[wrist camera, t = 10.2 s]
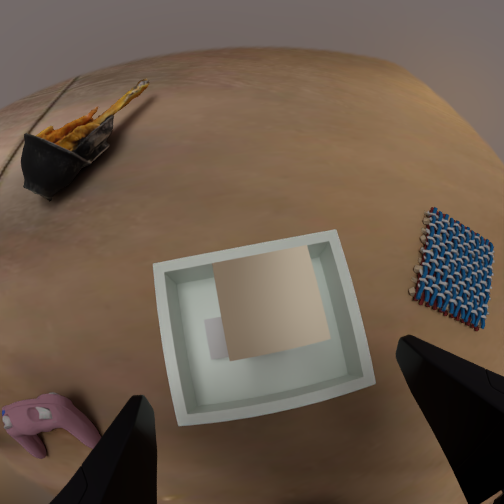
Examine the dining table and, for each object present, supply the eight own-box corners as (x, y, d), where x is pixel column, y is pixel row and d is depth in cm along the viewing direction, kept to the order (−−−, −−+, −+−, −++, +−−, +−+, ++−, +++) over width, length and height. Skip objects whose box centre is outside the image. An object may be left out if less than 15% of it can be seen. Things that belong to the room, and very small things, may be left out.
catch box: (324, 248, 25) (336, 229, 21) (356, 379, 21) (375, 383, 17) (168, 278, 24) (152, 263, 20) (191, 414, 20) (178, 426, 16)
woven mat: (487, 247, 25) (497, 240, 23) (476, 334, 22) (488, 331, 20) (421, 208, 27) (430, 199, 25) (402, 300, 23) (413, 295, 22)
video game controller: (100, 406, 21) (49, 376, 16) (109, 449, 18) (52, 430, 13) (38, 423, 20) (-10, 398, 15) (42, 461, 17) (-10, 441, 12)
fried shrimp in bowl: (3, 178, 23) (72, 48, 23) (71, 203, 32) (130, 86, 32) (6, 191, 18) (98, 26, 18) (95, 221, 28) (167, 78, 27)
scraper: (306, 299, 23) (363, 234, 10) (315, 340, 21) (389, 321, 9) (206, 319, 22) (149, 274, 10) (214, 361, 21) (162, 370, 9)
